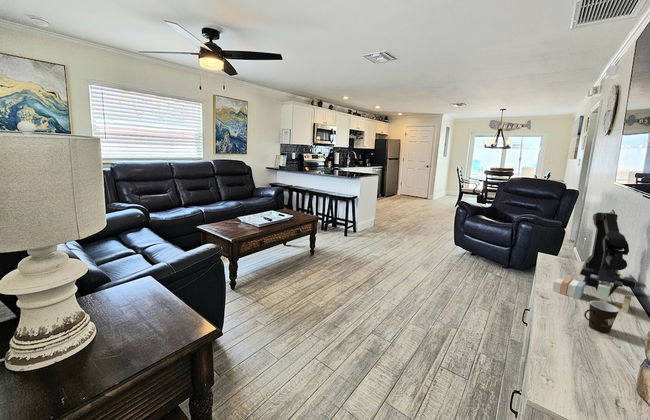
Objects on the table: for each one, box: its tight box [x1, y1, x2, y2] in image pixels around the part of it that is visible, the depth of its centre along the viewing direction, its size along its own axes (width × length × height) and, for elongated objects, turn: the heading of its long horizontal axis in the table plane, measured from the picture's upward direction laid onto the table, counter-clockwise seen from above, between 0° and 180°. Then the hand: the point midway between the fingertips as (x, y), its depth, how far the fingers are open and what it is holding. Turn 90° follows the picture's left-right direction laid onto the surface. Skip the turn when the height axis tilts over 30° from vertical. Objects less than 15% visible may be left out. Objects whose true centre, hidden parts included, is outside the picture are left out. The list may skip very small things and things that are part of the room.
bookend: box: [614, 294, 633, 314], centre depth 136 cm, size 8×4×6 cm, turn 130°
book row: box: [552, 276, 586, 300], centre depth 151 cm, size 9×11×6 cm
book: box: [595, 281, 614, 301], centre depth 140 cm, size 9×4×6 cm, turn 130°
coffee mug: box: [583, 300, 620, 334], centre depth 120 cm, size 12×9×10 cm
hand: (603, 293), depth 141 cm, fingers closed on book, 4 cm apart
